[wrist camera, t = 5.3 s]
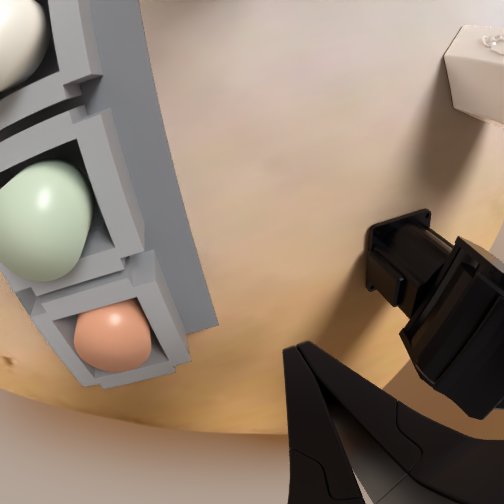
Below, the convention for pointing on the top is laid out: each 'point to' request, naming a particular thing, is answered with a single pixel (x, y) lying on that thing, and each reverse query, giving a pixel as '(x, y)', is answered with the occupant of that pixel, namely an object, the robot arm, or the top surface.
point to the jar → (478, 73)
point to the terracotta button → (114, 336)
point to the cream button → (21, 40)
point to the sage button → (45, 219)
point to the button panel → (107, 186)
